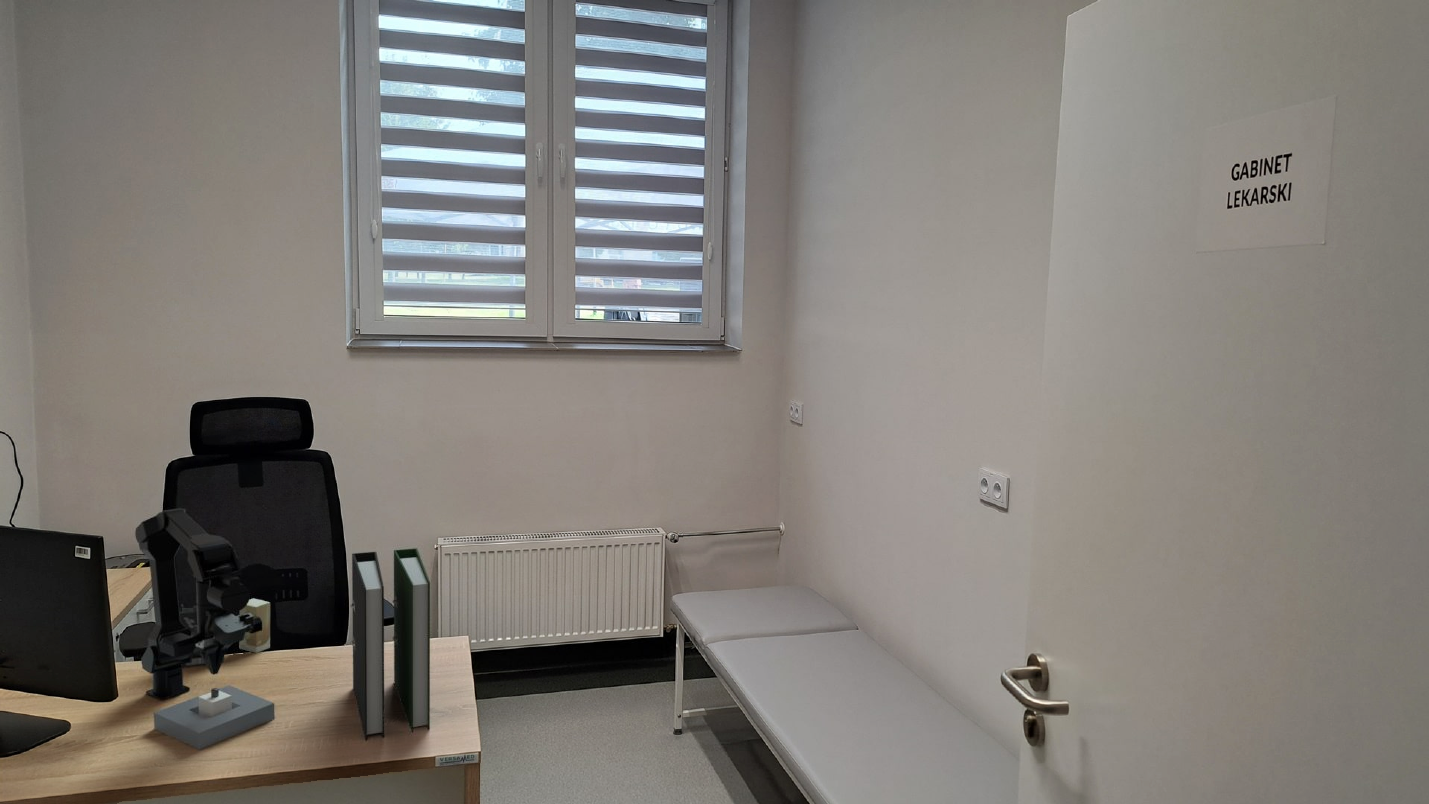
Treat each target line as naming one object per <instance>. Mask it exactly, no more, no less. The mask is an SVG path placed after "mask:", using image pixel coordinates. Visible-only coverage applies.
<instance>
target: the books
mask: <svg viewBox="0 0 1429 804" xmlns="http://www.w3.org/2000/svg"><path fill="white" fill-rule="evenodd" d="M351 566H352V567H351V569H352V570H351V571H352V573H351V574H352V575H351V576H352V577H351V581H352V594H351V595H352V602H351V605H349V606H350V608H351V609H352V640H351V641H350V645H351V646H352V689H353V693H354V697H355V702H356V706H357V711H358V714H359V715H358V716H359V719H360V724H361V728H362V732H363V736H364V740H365V741H368V735H373V734H379V733H381V734H382V738H385V618H384V617H385V598H384V597H385V596H384V594H385V591H384V589H385V586H384V582H383V577H382V572H381V568H380V563H379V558H378V554H377V551H366V552H355V553H351ZM392 603H393V637H392V640H393V683H394V682H395V683H394V686H395V685H396V686H395V688H397V689H396V692H397V691H398V692H397V694H399V695H398V698H399V697H400V698H399V700H401V701H400V703H402V704H401V706H403V707H402V709H403V712H404V715H405V717H406V721H407V723H409V724H408V727H409V729H411V730H410V732H412V733H414V728H415V727H420V726H421V727H423V726H426V727H427V726H428V727H427V730H428V729H431V727H430V725H431V724H430V723H431V721H430V719H431V717H430V716H431V715H430V714H431V713H430V711H431V703H430V701H431V700H430V699H431V687H430V685H431V684H430V683H431V681H430V680H431V667H430V666H431V652H430V651H431V650H430V649H431V581H430V579H429V576H428V573H427V571H426V568H425V565H424V563H423V559H422V557H421V554H420V552H419V549H418V547H417V548H416V547H415V548H404V549H394V550H393V600H392ZM412 733H411V734H412Z"/></svg>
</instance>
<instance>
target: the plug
mask: <svg viewBox="0 0 1429 804" xmlns="http://www.w3.org/2000/svg"><path fill="white" fill-rule="evenodd" d="M219 689H220V688H219V687H214V688H211V690H210V691H209V692H210V693H209V692H207V693H208V694H206V693H204V694H205V695H204V694H201V695H202V696H201V695H199V715H202V716H204V717H206V718H211V717H213V716H216V715H218V714H221V713H223V712H226V711H229V710H231V709H232V696H231V695H229V694H226V693H224V692H221V691H219Z"/></svg>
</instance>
